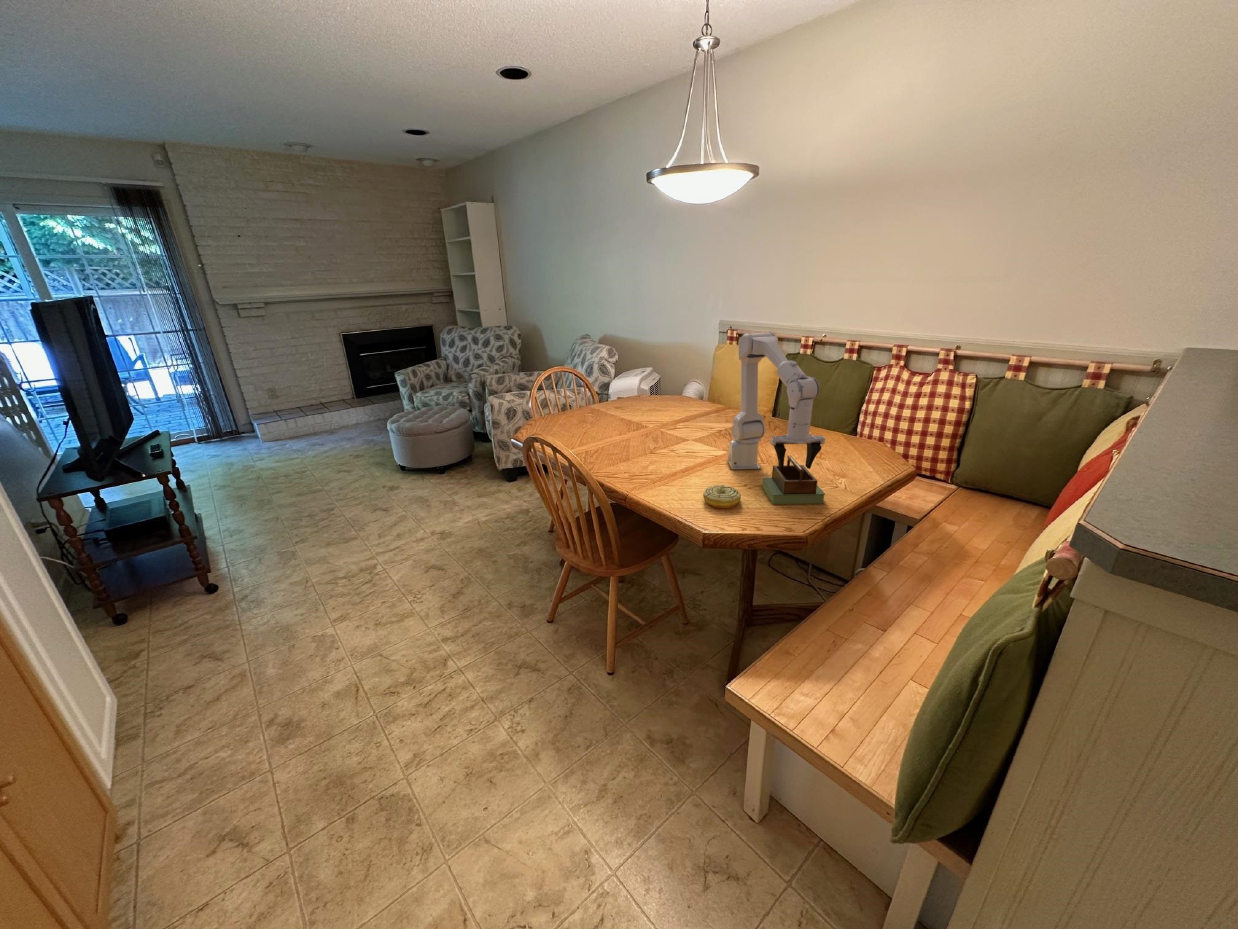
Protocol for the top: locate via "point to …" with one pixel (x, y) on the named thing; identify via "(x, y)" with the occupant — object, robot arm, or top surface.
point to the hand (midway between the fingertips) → (794, 467)
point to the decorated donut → (721, 496)
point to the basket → (794, 478)
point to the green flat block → (781, 498)
